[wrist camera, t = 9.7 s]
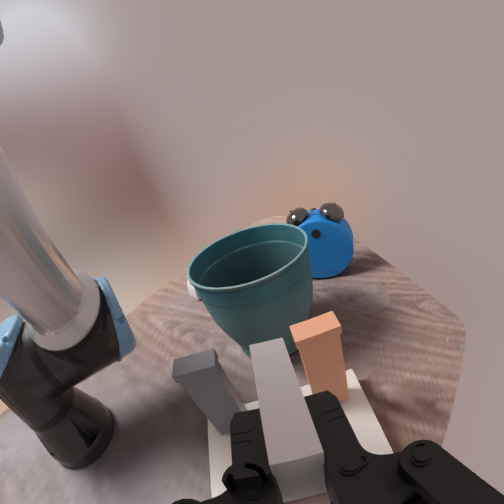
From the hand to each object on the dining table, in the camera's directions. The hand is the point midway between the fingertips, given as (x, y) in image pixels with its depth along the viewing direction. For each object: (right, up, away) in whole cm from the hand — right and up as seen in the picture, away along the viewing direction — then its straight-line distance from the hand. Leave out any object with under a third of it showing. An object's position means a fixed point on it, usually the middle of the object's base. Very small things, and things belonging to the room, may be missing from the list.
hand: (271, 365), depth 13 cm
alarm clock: (+15, +1, +50) cm, 52 cm away
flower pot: (+3, -9, +38) cm, 39 cm away
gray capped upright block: (-3, -16, +20) cm, 25 cm away
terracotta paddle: (+9, -12, +19) cm, 24 cm away
